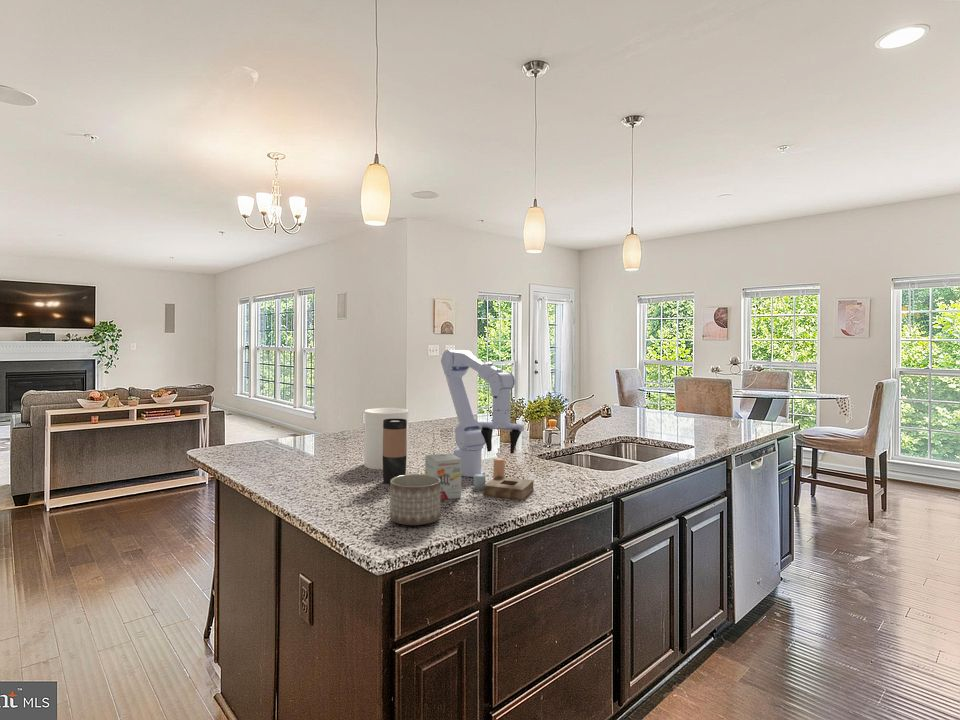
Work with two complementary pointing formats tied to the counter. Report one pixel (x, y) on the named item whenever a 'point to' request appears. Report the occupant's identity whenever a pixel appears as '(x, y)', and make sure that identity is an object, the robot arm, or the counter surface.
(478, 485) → the short peg
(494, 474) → the long peg
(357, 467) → the counter surface
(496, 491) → the socket block
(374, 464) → the canister
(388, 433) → the travel mug
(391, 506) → the planter
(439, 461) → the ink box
